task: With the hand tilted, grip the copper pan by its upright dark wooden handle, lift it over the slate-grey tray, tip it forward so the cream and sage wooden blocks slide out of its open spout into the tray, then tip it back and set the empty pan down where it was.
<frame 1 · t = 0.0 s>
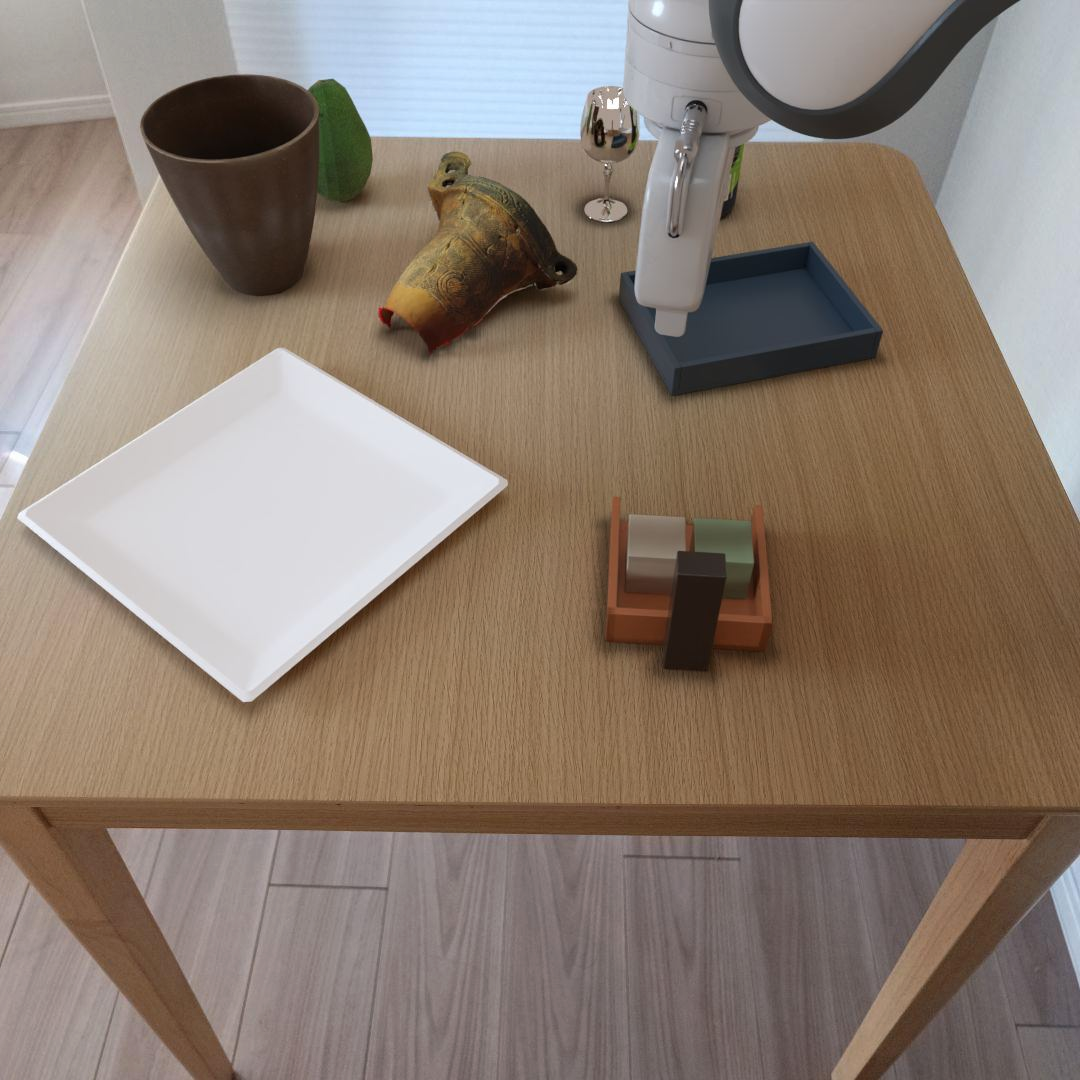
hand: (681, 283, 68), 21 cm above the table, tool pointing down, fingers open, 8 cm apart
pan: (683, 585, 79), on the table, touching cream block, sage block
beverage can: (703, 208, 113), on the table
plate: (271, 517, 84), on the table
tray: (743, 328, 100), on the table
pot: (477, 292, 104), on the table
wineglass: (605, 212, 113), on the table
fruit: (339, 197, 114), on the table
sage block: (716, 576, 79), point 1 cm above the table, touching pan
cream block: (652, 573, 79), point 1 cm above the table, touching pan
plant pot: (264, 275, 105), on the table
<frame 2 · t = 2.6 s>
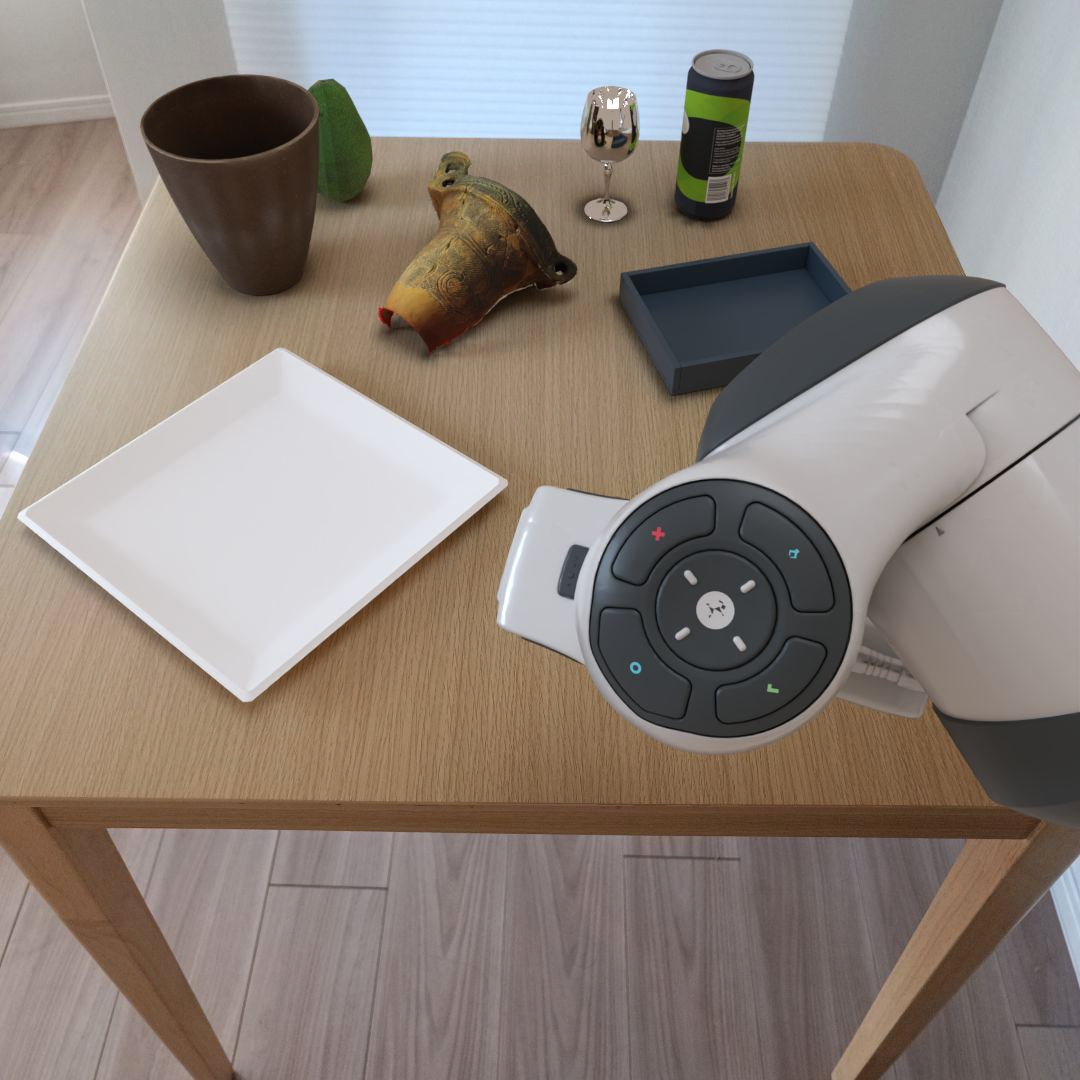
hand: (713, 617, 58), 16 cm above the table, tool tilted 40°, fingers open, 8 cm apart
nothing on the table moved.
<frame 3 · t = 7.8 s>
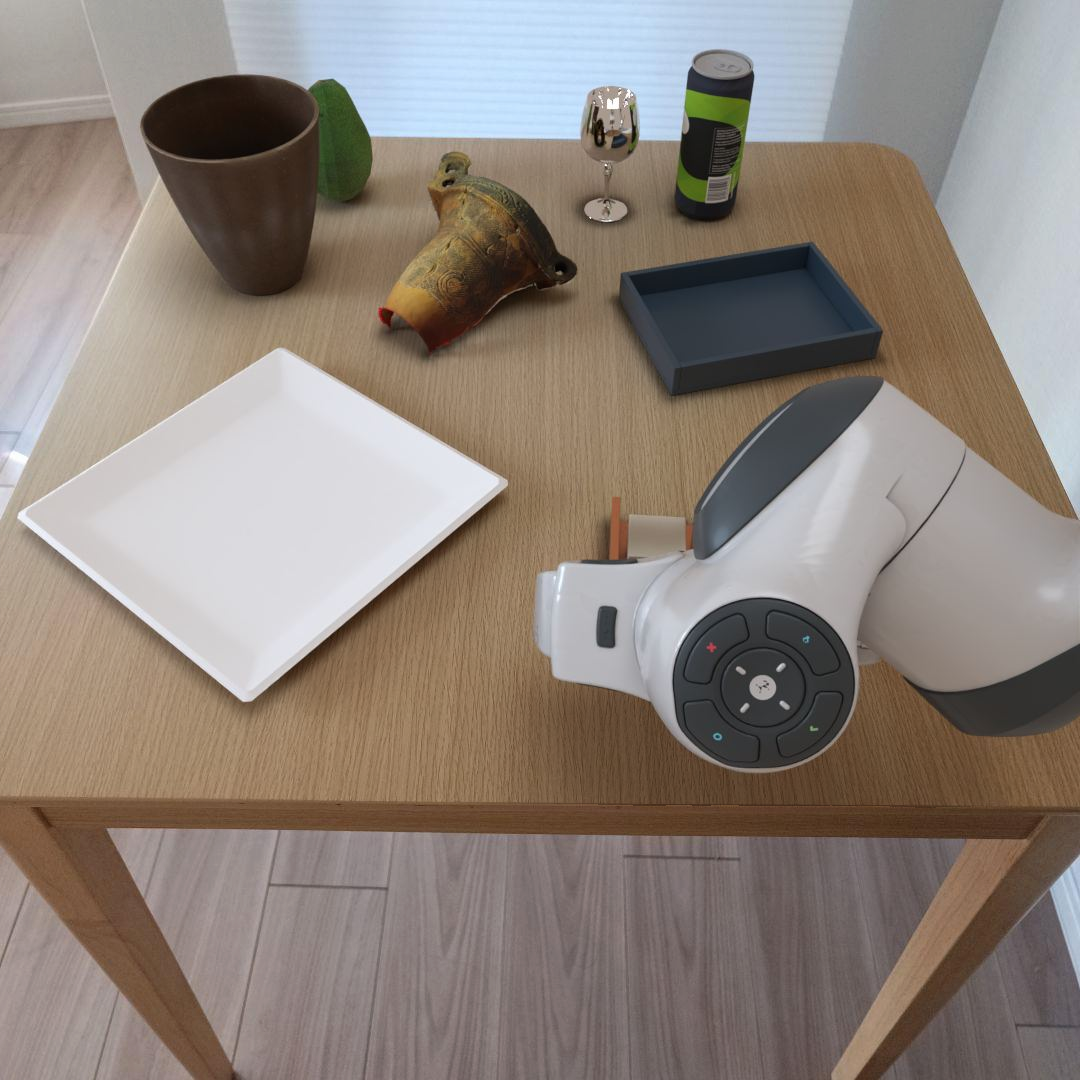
hand: (693, 602, 72), 5 cm above the table, tool tilted 45°, fingers closed on pan, 3 cm apart
pan: (684, 585, 79), on the table, touching cream block, gripper, sage block
everything else where it was.
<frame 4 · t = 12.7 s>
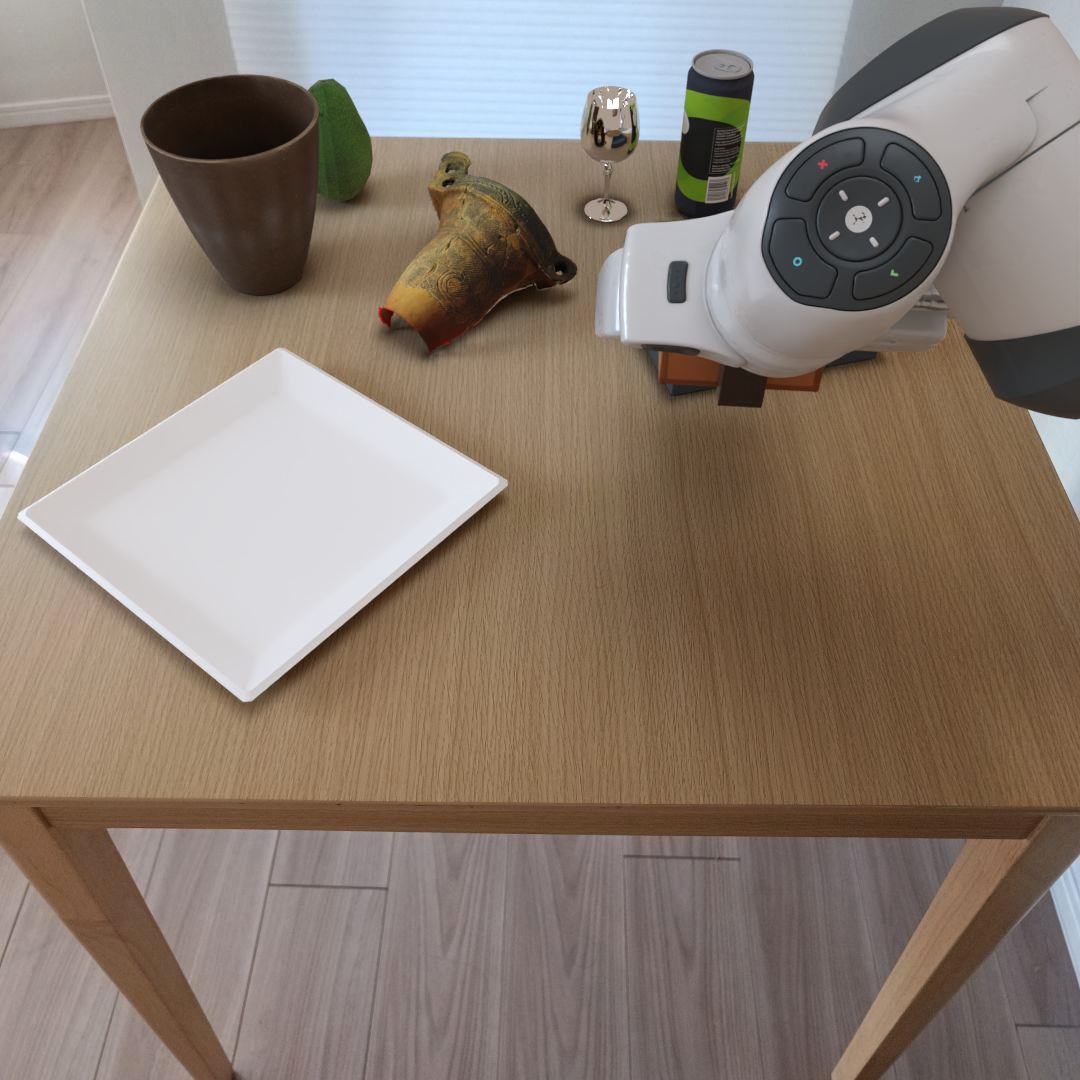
hand: (749, 328, 72), 17 cm above the table, tool tilted 45°, fingers closed on pan, 3 cm apart
pan: (734, 339, 79), point 12 cm above the table, touching cream block, gripper, sage block
sage block: (767, 329, 79), point 12 cm above the table, touching pan
cream block: (703, 326, 79), point 13 cm above the table, touching pan
everything else where it was.
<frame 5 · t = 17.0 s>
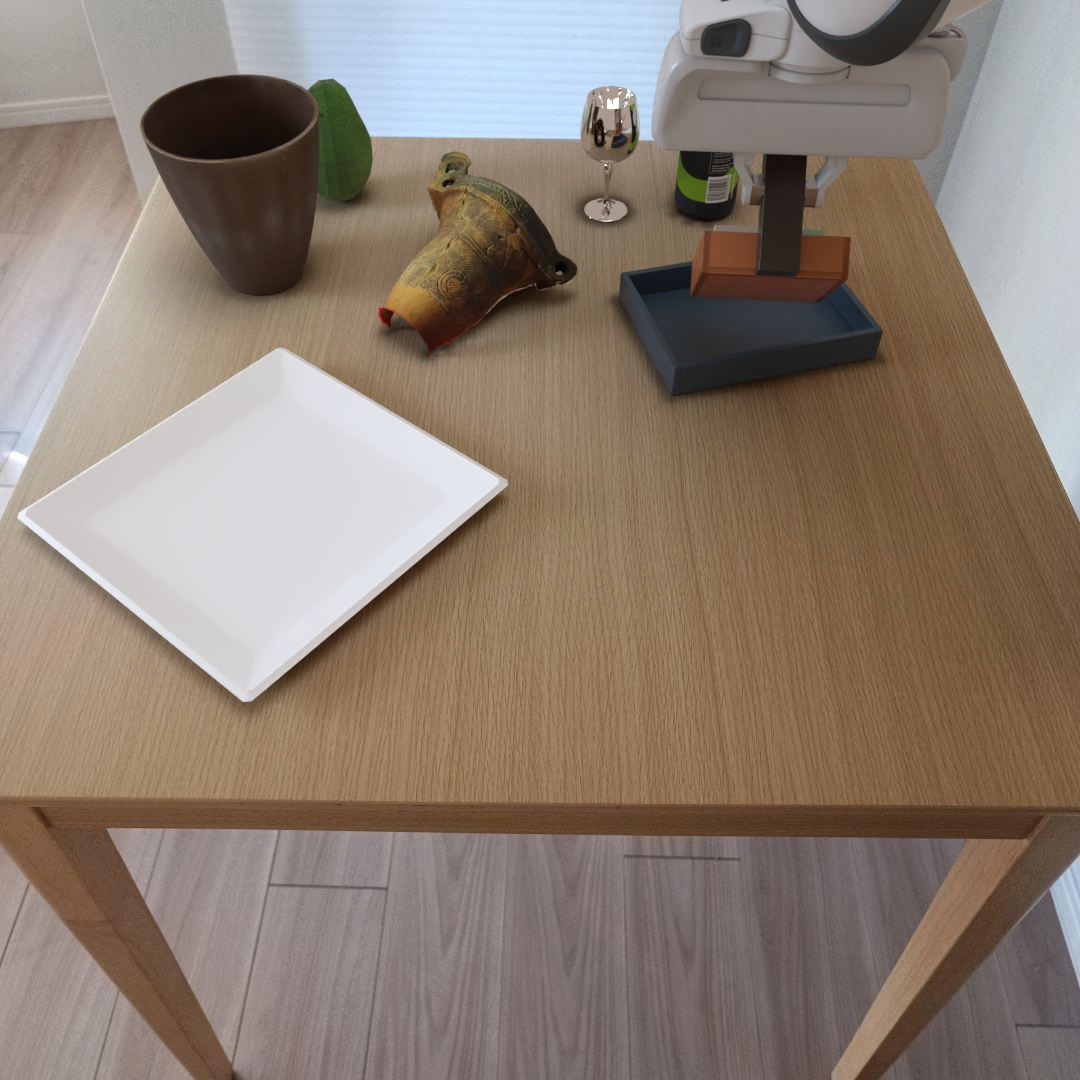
hand: (780, 202, 82), 17 cm above the table, tool pointing down, fingers closed on pan, 3 cm apart
pan: (764, 288, 89), point 9 cm above the table, tilted 45°, touching gripper
sage block: (790, 283, 90), point 9 cm above the table, tilted 48°
cream block: (733, 281, 90), point 9 cm above the table, tilted 48°
everything else where it was.
when the fingers open (5 cm above the table, at t = 28.6 s): pan stays where it is, on the table.
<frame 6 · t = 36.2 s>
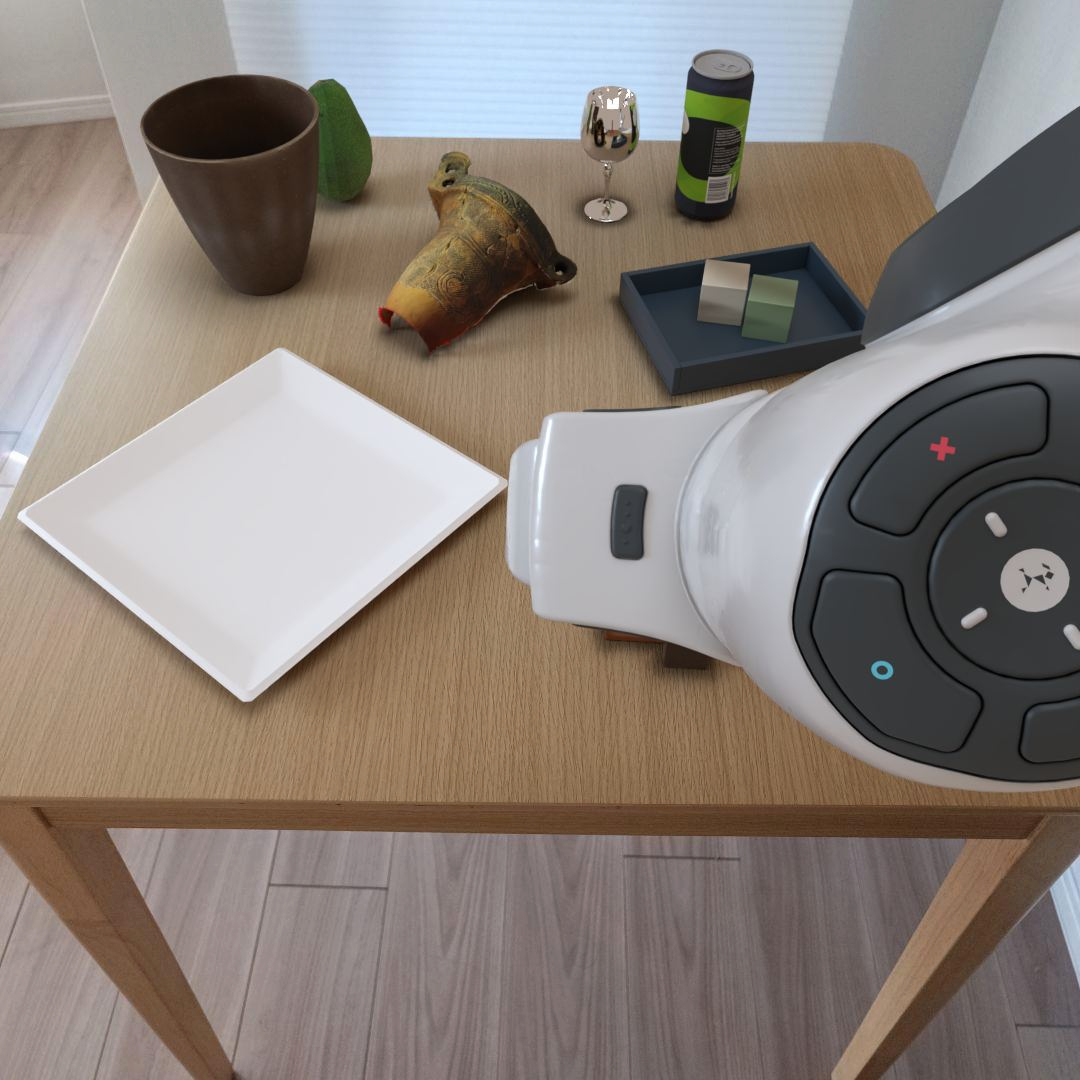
hand: (754, 517, 47), 27 cm above the table, tool tilted 45°, fingers open, 8 cm apart
pan: (684, 583, 80), on the table
sage block: (773, 290, 96), point 4 cm above the table, tilted 180°, touching tray
cream block: (726, 273, 98), point 4 cm above the table, tilted 180°, touching tray
everything else where it was.
at the end: cream block inside the target area in the tray (2.6 cm from its centre), point 4.5 cm above the tray's base; sage block inside the target area in the tray (2.0 cm from its centre), point 4.5 cm above the tray's base; pan tilted 0° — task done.
